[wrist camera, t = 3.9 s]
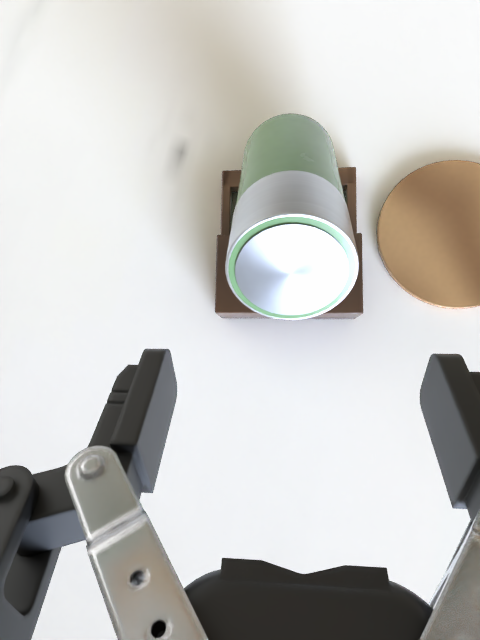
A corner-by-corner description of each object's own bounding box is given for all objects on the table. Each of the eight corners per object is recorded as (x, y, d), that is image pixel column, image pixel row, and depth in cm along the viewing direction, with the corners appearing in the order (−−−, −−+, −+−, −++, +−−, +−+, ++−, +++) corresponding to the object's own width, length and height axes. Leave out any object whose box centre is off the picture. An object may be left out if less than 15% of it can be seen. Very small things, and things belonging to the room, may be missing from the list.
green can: (330, 324, 29) (368, 317, 17) (244, 323, 30) (218, 316, 17) (331, 142, 30) (368, 3, 17) (245, 144, 30) (221, 11, 18)
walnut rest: (355, 318, 29) (363, 313, 26) (221, 318, 30) (215, 313, 27) (353, 173, 30) (360, 153, 27) (224, 176, 31) (218, 157, 28)
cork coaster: (467, 340, 28) (470, 339, 28) (346, 244, 29) (346, 242, 29) (565, 223, 28) (570, 221, 28) (440, 134, 30) (442, 131, 29)
